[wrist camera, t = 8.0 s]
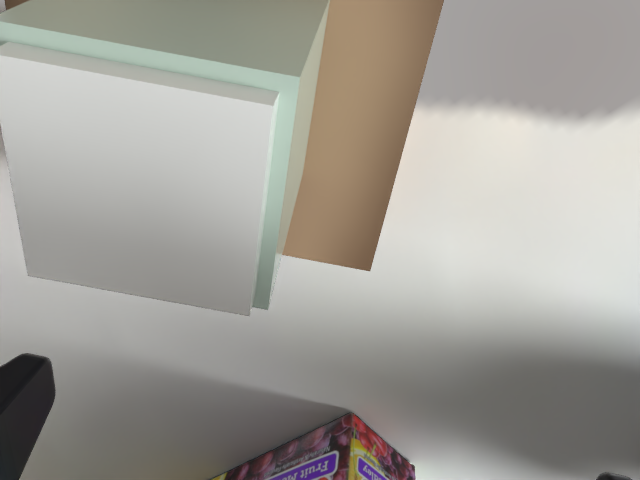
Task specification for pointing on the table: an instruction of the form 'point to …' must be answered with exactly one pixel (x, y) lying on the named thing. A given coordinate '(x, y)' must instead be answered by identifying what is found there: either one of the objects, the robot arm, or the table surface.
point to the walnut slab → (357, 125)
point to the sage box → (159, 141)
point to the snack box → (329, 457)
